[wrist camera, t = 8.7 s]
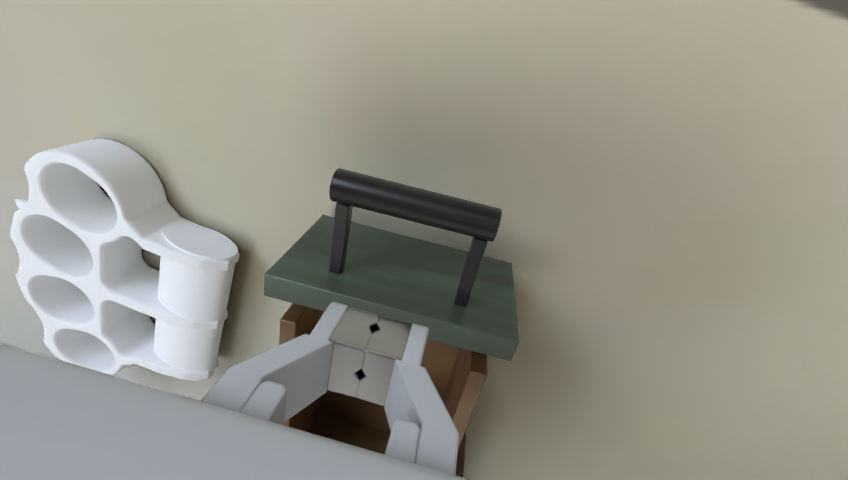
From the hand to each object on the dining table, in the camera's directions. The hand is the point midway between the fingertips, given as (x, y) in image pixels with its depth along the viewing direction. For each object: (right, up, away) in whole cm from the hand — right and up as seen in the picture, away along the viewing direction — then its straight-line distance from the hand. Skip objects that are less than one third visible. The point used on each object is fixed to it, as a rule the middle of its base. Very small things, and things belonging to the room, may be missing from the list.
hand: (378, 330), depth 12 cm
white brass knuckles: (-19, +1, +17) cm, 25 cm away
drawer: (0, -2, +14) cm, 14 cm away
